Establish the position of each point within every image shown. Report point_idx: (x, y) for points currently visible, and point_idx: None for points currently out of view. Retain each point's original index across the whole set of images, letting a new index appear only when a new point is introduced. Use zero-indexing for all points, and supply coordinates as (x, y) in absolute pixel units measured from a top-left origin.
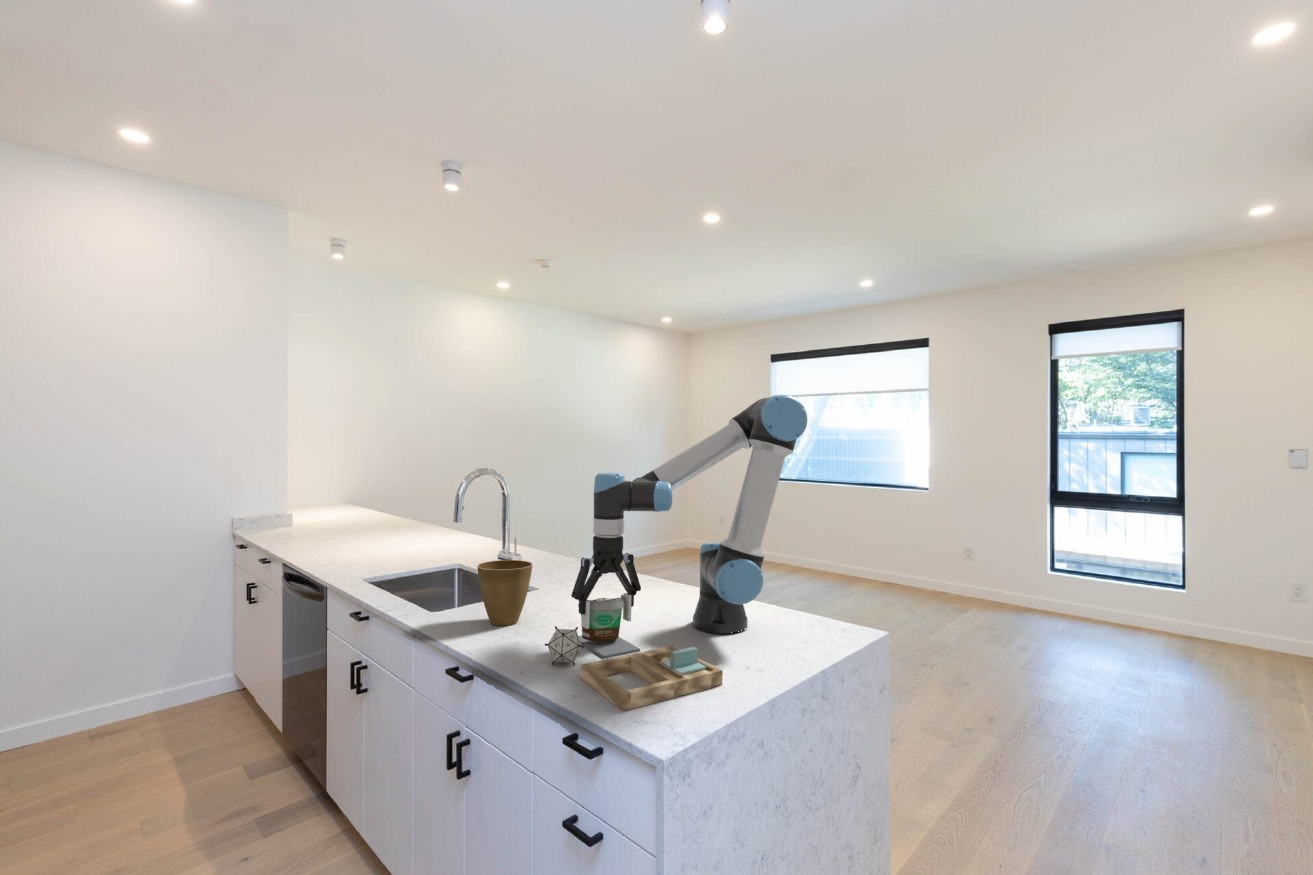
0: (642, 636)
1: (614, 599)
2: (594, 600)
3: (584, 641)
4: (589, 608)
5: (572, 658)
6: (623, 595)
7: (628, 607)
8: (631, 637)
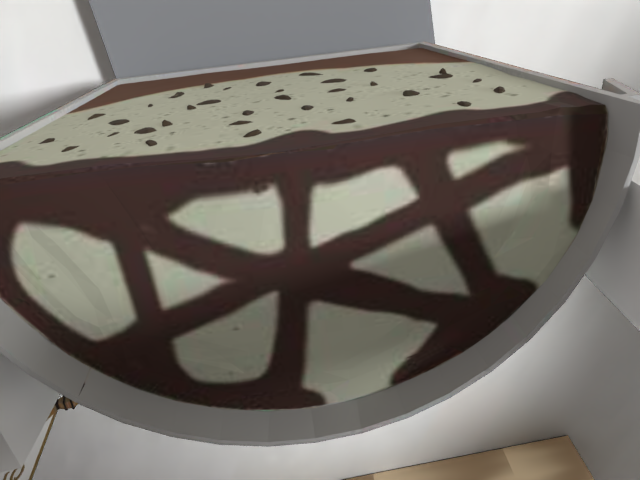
0: (628, 35)
1: (464, 190)
2: (148, 202)
3: (141, 70)
4: (55, 400)
5: None
6: (634, 187)
7: None
8: (540, 31)
